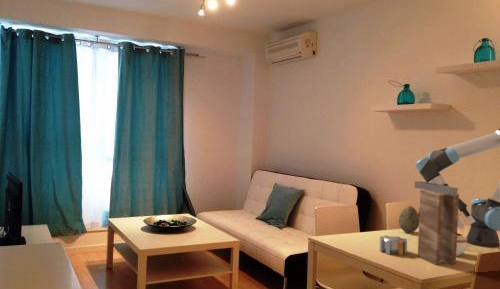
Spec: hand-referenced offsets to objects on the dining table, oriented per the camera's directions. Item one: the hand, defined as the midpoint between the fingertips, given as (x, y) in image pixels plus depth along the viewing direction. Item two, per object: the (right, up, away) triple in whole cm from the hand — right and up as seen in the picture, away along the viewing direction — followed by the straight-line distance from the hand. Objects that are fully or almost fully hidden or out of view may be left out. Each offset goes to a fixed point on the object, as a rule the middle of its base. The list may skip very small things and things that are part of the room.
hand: (467, 225), depth 198 cm
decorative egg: (-12, -12, +40) cm, 44 cm away
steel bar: (-20, +17, -10) cm, 28 cm away
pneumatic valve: (+5, -12, +57) cm, 59 cm away
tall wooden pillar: (-20, -13, -12) cm, 27 cm away
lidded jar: (-7, -13, -1) cm, 15 cm away
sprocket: (-35, -12, -1) cm, 37 cm away
